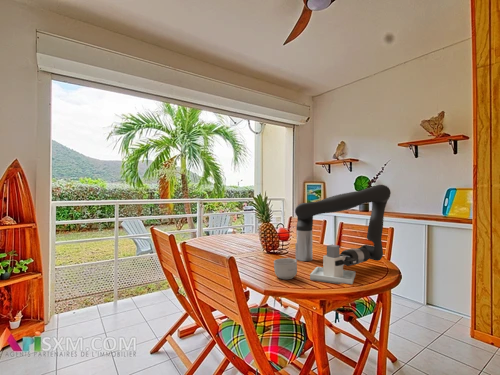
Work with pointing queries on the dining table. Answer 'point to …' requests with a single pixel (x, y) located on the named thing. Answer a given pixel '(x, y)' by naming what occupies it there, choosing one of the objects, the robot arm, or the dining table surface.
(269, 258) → the dining table surface
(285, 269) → the teacup
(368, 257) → the robot arm
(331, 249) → the block
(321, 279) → the tray
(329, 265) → the beige rectangular block
